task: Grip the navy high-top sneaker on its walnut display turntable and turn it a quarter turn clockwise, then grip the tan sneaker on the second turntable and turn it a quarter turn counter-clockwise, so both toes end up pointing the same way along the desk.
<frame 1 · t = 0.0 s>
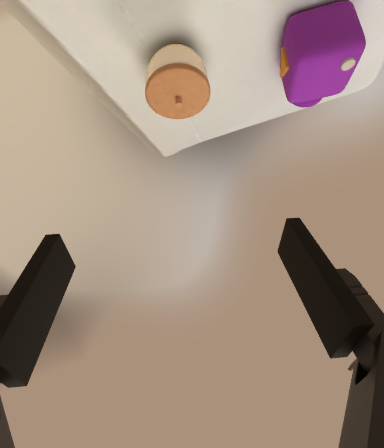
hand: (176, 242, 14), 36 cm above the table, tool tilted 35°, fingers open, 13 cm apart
trinket box: (175, 60, 42), on the table
toy camera: (308, 42, 40), on the table
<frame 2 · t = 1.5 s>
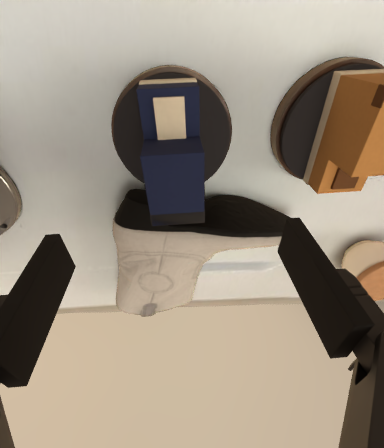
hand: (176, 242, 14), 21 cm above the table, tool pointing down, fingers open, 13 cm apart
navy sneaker: (173, 153, 25), point 7 cm above the table, hinge at 0.0°
cowboy boot: (193, 247, 44), on the table
trinket box: (358, 250, 47), on the table
turntable base a: (172, 132, 30), on the table
turntable base b: (325, 124, 31), on the table
tan sneaker: (357, 142, 26), point 7 cm above the table, hinge at 0.0°
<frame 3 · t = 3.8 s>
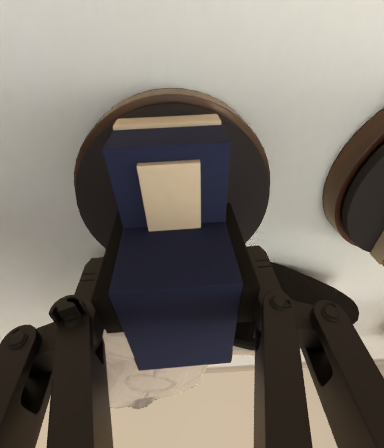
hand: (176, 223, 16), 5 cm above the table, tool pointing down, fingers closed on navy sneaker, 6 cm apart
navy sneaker: (176, 244, 14), point 7 cm above the table, hinge at 0.0°, touching gripper
cowboy boot: (201, 317, 33), on the table
turntable base a: (175, 187, 20), on the table
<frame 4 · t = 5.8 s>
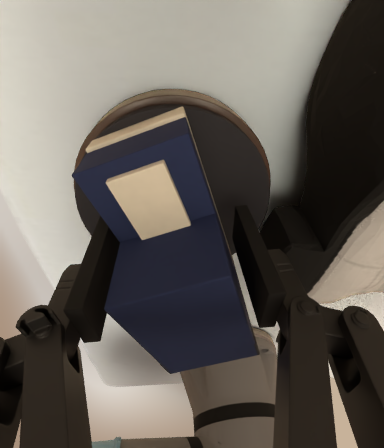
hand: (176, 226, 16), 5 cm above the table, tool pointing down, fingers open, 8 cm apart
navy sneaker: (176, 245, 14), point 7 cm above the table, hinge at 73.2°
turntable base a: (175, 188, 20), on the table
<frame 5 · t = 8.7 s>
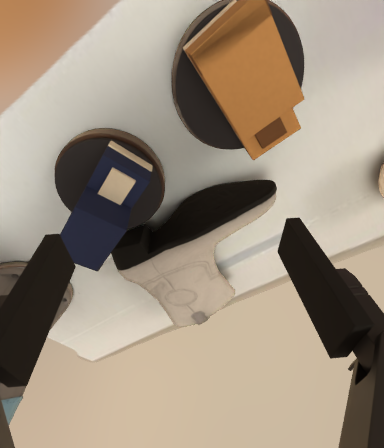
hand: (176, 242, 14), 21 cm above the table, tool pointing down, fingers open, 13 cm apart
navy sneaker: (104, 206, 29), point 7 cm above the table, hinge at 73.3°
cowboy boot: (206, 249, 44), on the table
turntable base a: (114, 179, 34), on the table
turntable base b: (233, 82, 28), on the table
tan sneaker: (248, 93, 22), point 7 cm above the table, hinge at 0.0°
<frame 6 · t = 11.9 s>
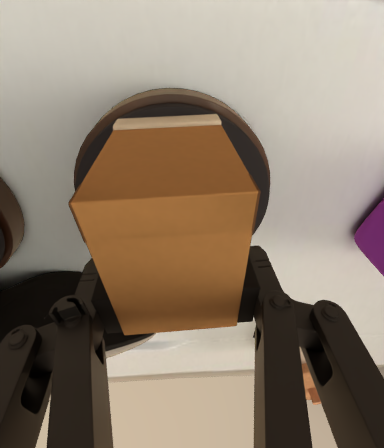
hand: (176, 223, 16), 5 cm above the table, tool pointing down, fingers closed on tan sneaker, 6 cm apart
cowboy boot: (51, 328, 32), on the table
trinket box: (286, 326, 36), on the table
turntable base b: (175, 187, 20), on the table
tan sneaker: (176, 244, 14), point 7 cm above the table, hinge at -0.1°, touching gripper
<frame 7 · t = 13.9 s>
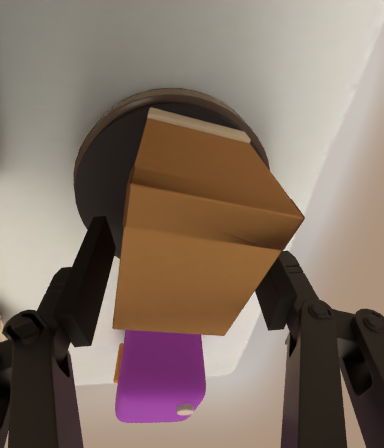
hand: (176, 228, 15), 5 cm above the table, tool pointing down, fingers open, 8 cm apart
toy camera: (160, 334, 34), on the table
turntable base b: (175, 188, 20), on the table
tan sneaker: (176, 245, 14), point 7 cm above the table, hinge at 73.3°
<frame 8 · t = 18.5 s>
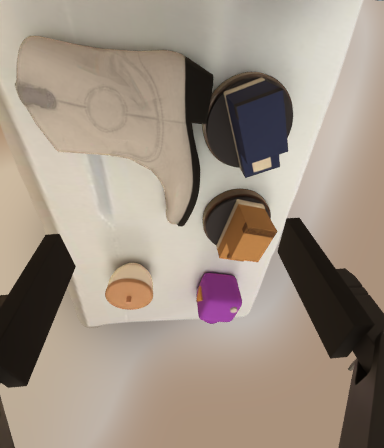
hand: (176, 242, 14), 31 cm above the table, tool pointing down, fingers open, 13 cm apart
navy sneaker: (256, 135, 35), point 7 cm above the table, hinge at 73.3°
cowboy boot: (126, 140, 41), on the table
trinket box: (133, 270, 61), on the table
turntable base a: (244, 122, 40), on the table
toy camera: (213, 285, 67), on the table
turntable base b: (235, 217, 52), on the table
tan sneaker: (242, 237, 47), point 7 cm above the table, hinge at 73.3°
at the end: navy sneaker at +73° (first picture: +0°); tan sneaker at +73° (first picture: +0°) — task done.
